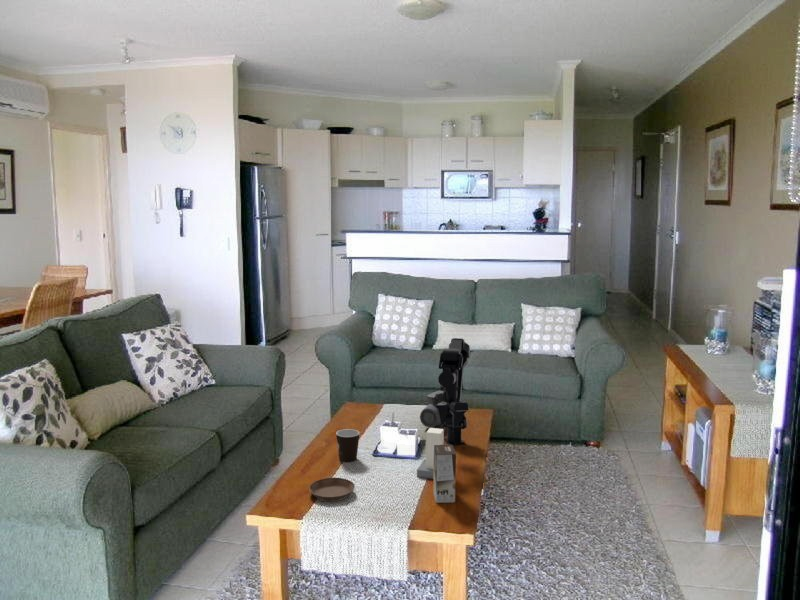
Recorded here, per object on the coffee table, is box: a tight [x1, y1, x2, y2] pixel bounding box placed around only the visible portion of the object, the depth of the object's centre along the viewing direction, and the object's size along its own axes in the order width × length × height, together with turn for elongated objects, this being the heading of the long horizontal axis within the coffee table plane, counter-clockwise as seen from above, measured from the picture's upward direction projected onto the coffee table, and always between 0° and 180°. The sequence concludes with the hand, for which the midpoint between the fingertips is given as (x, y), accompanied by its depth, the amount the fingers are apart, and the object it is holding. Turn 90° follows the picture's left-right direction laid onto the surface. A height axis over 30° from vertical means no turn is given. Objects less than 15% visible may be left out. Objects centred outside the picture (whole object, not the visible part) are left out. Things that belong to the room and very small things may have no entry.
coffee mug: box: [335, 428, 361, 463], centre depth 253 cm, size 12×9×10 cm
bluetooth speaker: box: [419, 404, 442, 428], centre depth 294 cm, size 23×9×10 cm, turn 155°
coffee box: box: [432, 444, 457, 504], centre depth 220 cm, size 9×6×16 cm
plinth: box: [416, 459, 434, 480], centre depth 240 cm, size 10×10×2 cm
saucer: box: [308, 477, 356, 502], centre depth 223 cm, size 15×15×3 cm
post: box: [425, 427, 445, 469], centre depth 239 cm, size 5×5×13 cm
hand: (448, 426), depth 253 cm, fingers open, 9 cm apart
